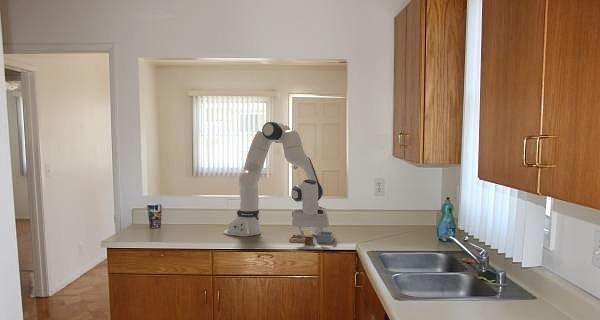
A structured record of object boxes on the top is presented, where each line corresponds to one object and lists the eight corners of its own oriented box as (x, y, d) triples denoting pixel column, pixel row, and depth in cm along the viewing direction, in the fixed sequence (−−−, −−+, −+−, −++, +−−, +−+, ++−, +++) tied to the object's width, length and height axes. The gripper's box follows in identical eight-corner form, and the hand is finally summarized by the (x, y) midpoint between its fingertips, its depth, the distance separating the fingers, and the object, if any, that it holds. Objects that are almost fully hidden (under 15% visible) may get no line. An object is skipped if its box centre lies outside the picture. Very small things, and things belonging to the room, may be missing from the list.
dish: (289, 242, 235) (289, 238, 234) (292, 238, 243) (292, 234, 243) (304, 243, 233) (305, 239, 233) (307, 239, 242) (307, 235, 242)
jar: (324, 236, 248) (325, 211, 247) (307, 235, 250) (307, 210, 249) (327, 232, 258) (327, 208, 257) (310, 231, 260) (310, 207, 259)
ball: (295, 240, 237) (295, 235, 237) (296, 239, 240) (296, 233, 240) (300, 240, 236) (300, 235, 236) (301, 239, 239) (302, 233, 239)
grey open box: (316, 243, 233) (316, 234, 233) (319, 239, 241) (319, 231, 241) (331, 244, 231) (331, 235, 231) (333, 240, 239) (333, 232, 239)
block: (304, 245, 229) (304, 236, 229) (306, 243, 233) (306, 234, 233) (311, 246, 229) (312, 236, 228) (313, 244, 233) (313, 235, 232)
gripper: (290, 210, 229) (291, 235, 230) (328, 211, 225) (328, 236, 226) (292, 208, 235) (293, 232, 236) (329, 209, 231) (329, 233, 232)
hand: (310, 234), depth 231 cm, fingers open, 8 cm apart
